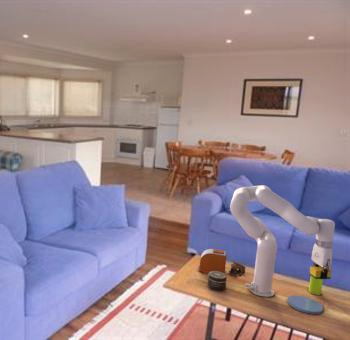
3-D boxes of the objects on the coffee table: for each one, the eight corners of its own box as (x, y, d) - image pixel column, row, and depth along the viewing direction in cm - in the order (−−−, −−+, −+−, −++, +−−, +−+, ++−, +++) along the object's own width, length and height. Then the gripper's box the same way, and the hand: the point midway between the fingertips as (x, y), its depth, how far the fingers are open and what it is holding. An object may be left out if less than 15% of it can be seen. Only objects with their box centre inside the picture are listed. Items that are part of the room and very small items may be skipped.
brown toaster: (224, 270, 231) (226, 249, 228) (224, 276, 223) (226, 254, 220) (200, 266, 236) (202, 245, 233) (198, 271, 228) (200, 250, 226)
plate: (298, 313, 184) (298, 311, 184) (281, 297, 200) (281, 295, 200) (329, 314, 185) (330, 311, 185) (310, 297, 201) (310, 295, 201)
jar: (208, 281, 215) (209, 269, 214) (226, 285, 211) (228, 273, 209) (205, 288, 206) (207, 276, 205) (224, 293, 202) (226, 280, 200)
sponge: (315, 278, 191) (316, 270, 190) (309, 274, 196) (310, 266, 195) (330, 278, 191) (331, 270, 190) (324, 274, 196) (325, 266, 195)
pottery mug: (224, 272, 229) (229, 260, 230) (236, 278, 230) (241, 266, 232) (235, 276, 217) (240, 263, 218) (248, 282, 219) (253, 269, 220)
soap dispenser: (324, 295, 204) (329, 261, 200) (310, 294, 205) (315, 260, 201) (320, 290, 209) (325, 257, 206) (307, 289, 211) (311, 255, 207)
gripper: (306, 237, 199) (303, 269, 202) (327, 249, 182) (323, 284, 185) (320, 237, 199) (316, 269, 202) (342, 249, 182) (337, 284, 185)
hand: (319, 276), depth 193 cm, fingers closed on sponge, 5 cm apart
